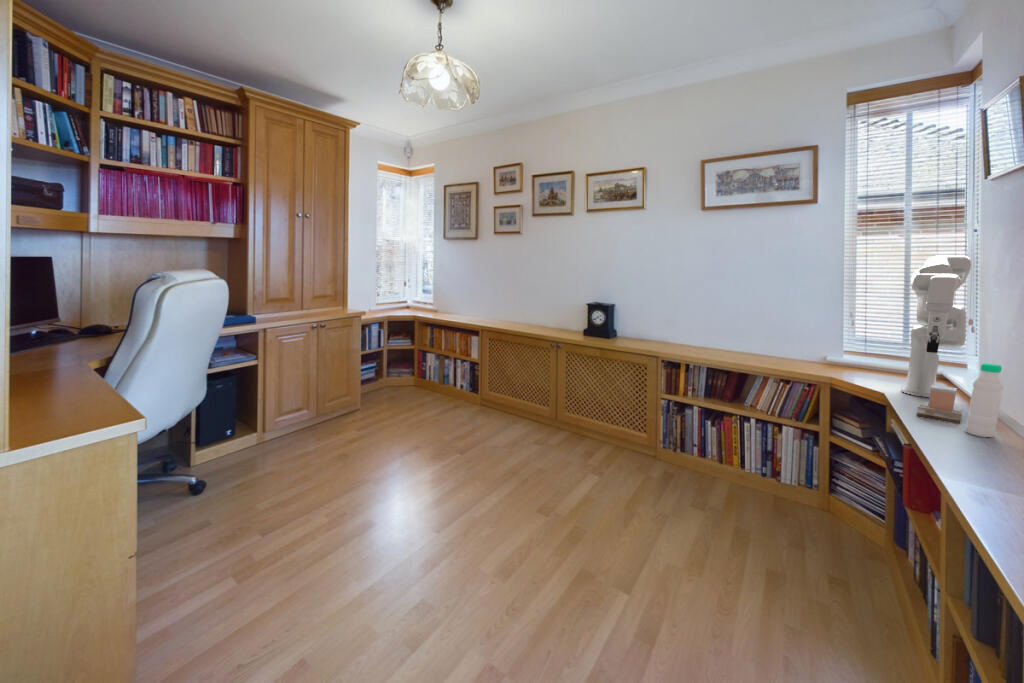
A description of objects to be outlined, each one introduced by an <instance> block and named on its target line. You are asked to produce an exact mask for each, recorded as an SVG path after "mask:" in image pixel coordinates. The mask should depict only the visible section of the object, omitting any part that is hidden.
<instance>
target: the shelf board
mask: <svg viewBox="0 0 1024 683" xmlns="http://www.w3.org/2000/svg"><path fill="white" fill-rule="evenodd" d="M962 414H963V413H962V410H955V409H953V412H951V411H945V410H939V409H933V408H928V405H923V404H920V405H917V409H916V416H918V417H917V418H921V417H923V418H922V419H927V418H929V420H933V419H934V421H938V420H940V422H944V421H945V423H950V422H951V423H950V424H956V425H961V421H962Z"/></svg>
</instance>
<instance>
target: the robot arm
mask: <svg viewBox="0 0 1024 683" xmlns="http://www.w3.org/2000/svg"><path fill="white" fill-rule="evenodd" d="M971 267H972V261H971V259H970V257H969V256H966V255H965V254H964V255H959V254H958V255H957V254H956V255H955V254H954V255H935V256H932V257H929V258H927V259H926V261H925V262H924V264H923V267H921V268H919V269H916V270H915V271H914V272H913V274H912V276H911V278H910V279H911V280H910V281H911V282H910V284H911V289H912V291H914V293H915V294H916V296H917V297H916V298H917V307H916V322H917V323H918V324H919V325H916V326H914V327H913V328H912V329H911V330H910V356H909V357H910V358H909V363H908V371H907V378H906V384H905V387H902V388H901V389H900V391H901V392H902V393H903V392H904V393H903V394H906V393H907V394H906V395H909V394H911V395H910V396H914V395H915V397H921V396H922V397H923V398H929V396H930V389H931V386H932V385H936V383H937V382H936V381H937V375H938V368H939V363H940V357H939V354H938V350H939V348H945V349H960V348H962V347H964V345H965V343H966V337H967V336H966V334H967V312H966V309H965V308H964V307H963V306H960V305H954V300H955V292H956V291H958V290H959V289H960V287H961V286H962V285H964V284H965V282H966V280H967V279H968V276H969V273H970V271H971ZM922 397H921V398H922Z"/></svg>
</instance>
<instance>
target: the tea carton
mask: <svg viewBox="0 0 1024 683" xmlns="http://www.w3.org/2000/svg"><path fill="white" fill-rule="evenodd" d="M957 389H958V388H957V387H951V386H943V385H936V384H935V385H932V386H931V389H930V396H929V397H928V404H927V406H928V408H933V409H939V410H945V411H951V412H953V410H954V407H955V401H956V395H957Z"/></svg>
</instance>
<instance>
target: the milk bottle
mask: <svg viewBox="0 0 1024 683" xmlns="http://www.w3.org/2000/svg"><path fill="white" fill-rule="evenodd" d="M980 372H981V374H980V375H979V376H977V379H975V380H974V381H973V383H972V387H973V388H972V392H971V396H970V402H969V413H968V414H967V422H966V425H965V432H966V433H967V434H969V435H971V434H972V436H974V435H975V436H976V437H979V436H980V437H979V438H986V437H990V438H993V437H995V435H996V427H997V424H998V414H999V411H1000V407H1001V403H1002V402H1001V401H1002V393H1003V389H1004V385H1003V383H1002V381H1001V378H1000V377H999V375H1000V374H1001V373H1002V366H1001V365H999V364H995V363H981V365H980Z"/></svg>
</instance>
